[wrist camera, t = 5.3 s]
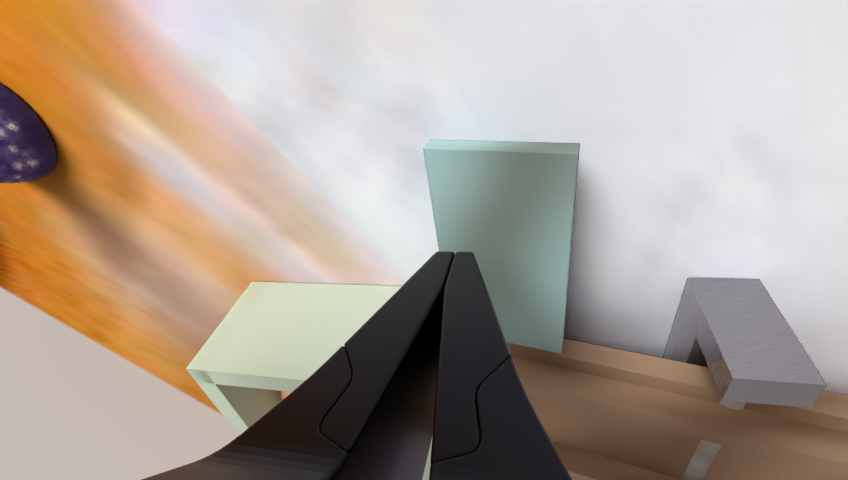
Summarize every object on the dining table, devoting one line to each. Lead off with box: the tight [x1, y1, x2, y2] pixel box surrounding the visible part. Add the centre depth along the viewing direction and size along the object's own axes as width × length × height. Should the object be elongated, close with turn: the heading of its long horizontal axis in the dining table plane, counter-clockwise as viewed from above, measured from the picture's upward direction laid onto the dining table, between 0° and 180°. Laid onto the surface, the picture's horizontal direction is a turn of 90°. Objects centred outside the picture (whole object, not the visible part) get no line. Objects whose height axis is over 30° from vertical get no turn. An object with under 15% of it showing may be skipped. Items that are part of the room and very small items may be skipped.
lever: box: [423, 140, 848, 480], centre depth 12 cm, size 18×15×2 cm
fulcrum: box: [663, 278, 827, 408], centre depth 15 cm, size 2×11×4 cm, turn 8°
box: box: [186, 282, 433, 480], centre depth 18 cm, size 9×9×4 cm
